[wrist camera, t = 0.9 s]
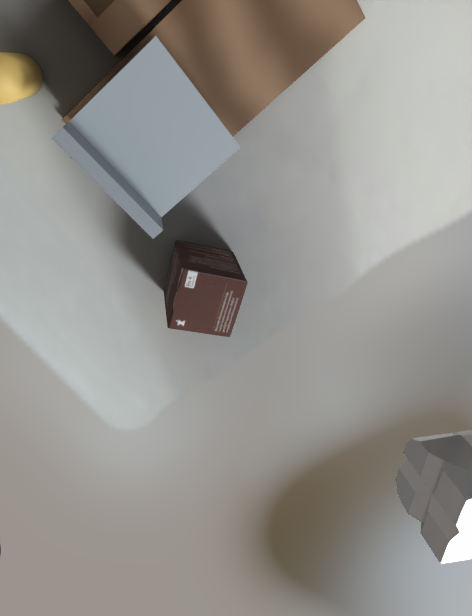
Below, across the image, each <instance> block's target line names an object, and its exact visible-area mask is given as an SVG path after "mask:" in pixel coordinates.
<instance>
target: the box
mask: <svg viewBox="0 0 472 616" xmlns="http://www.w3.org/2000/svg"><path fill="white" fill-rule="evenodd" d="M246 286H247V281H246V279H245V277H244V274H243V272H242V270H241V268H240V265H239V263H238V261H237V259H236V257H235V255H234V253H233V252H231V251H228V250H223V249H217V248H212V247H207V246H202V245H197V244H193V243H188V242H184V241H176V243H175V247H174V251H173V256H172V260H171V264H170V268H169V272H168V276H167V281H166V285H165V289H164V297H165V307H166V316H167V324H168V328H171V329H178V330H185V331H192V332H199V333H205V334H212V335H218V336H225V337H230V335H231V332H232V329H233V326H234V323H235V320H236V317H237V314H238V311H239V308H240V305H241V302H242V298H243V295H244V292H245V289H246Z"/></svg>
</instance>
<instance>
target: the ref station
mask: <svg viewBox="0 0 472 616" xmlns="http://www.w3.org/2000/svg"><path fill="white" fill-rule="evenodd" d="M364 19H365V16H364V14H363V12H362V10H361V8H360V6H359V4H358V2H357V0H182V1H181V2H180V3H179V4H178V5H177V6H176V7H175V8H174V9H173V10H172V11H171V12H170V13H169V14H168V15H167V16H166V17H165V18H164V19H163V20H162V21H161V22H160V23H159V24H158V25H157V26H156V27H155V28H154V29H153V30H152V31H151V32H150V33H149V34H148V35H147V36H146V37H145V38H144V39H143V40H142V41H141V42H140V43H139V44H137V45H136V46H135V47H134V48H133V49H132V50H131V51H130V52H129V53H128V54H127V55H126V56H125V57H124V58H123V59H122V60H121V61H120V62H119V63H118V64H117V65H116V66H115V67H114V68H113V69H112V70H111V71H110V72H109V73H108V74H107V75H106V76H105V77H104V78H103V79H102V80H101V81H100V82H99V83H98V84H97V85H96V86H95V87H94V88H93V89H92V90H91V91H90V92H89V93H88V94H87V95H86V96H85V97H84V98H83V99H82V100H81V101H80V102H79V103H78V104H77V105H76V106H75V107H74V108H73V109H72V110H71V111H70V112H69V113H68V114H67V115H66V116H65V117H64V118H63V119H62V120H63V121H64V122H65V123H66V124H67V123H68V122H69V121H70V120H71V119H72V118H73V117H74V116H75V115H76V114H77V113H78V112H79V111H80V110H81V109H82V108H83V107H84V106H85V105H86V104H87V103H88V102H89V101H90V100H91V99H92V98H93V97H94V96H95V95H96V94H97V93H98V92H100V91H101V90H102V89H103V88H104V87H105V86H106V85H107V84H108V83H109V82H110V81H111V80H112V79H113V78H114V77H115V76H116V75H117V74H118V73H119V72H120V71H121V70H122V69H123V68H124V67H125V66H126V65H127V64H128V63H129V62H130V61H131V60H132V59H133V58H134V57H135V56H136V55H137V54H138V53H139V52H140V51H141V50H142V49H143V48H144V47H145V46H146V45H147V44H148V43H149V42H150V41H151V40H152V39H153V38H154V37H155V36H157V38H158V39H159V40H160V42H161V43H162V44H163V46H164V47H165V48H166V50H167V51H168V52H169V54H170V55H171V56H172V58H173V59H174V60H175V61H176V63H177V64H178V65H179V67H180V68H181V69H182V71H183V72H184V73H185V75H186V76H187V77H188V79H189V80H190V81H191V83H192V84H193V85H194V87H195V88H196V89H197V90H198V92H199V93H200V94H201V96H202V97H203V98H204V100H205V101H206V102H207V104H208V105H209V106H210V108H211V109H212V110H213V112H214V113H215V114H216V116H217V117H218V118H219V119H220V121H221V122H222V123H223V125H224V126H225V127H226V129H227V130H228V131H229V133H230V134H231V135H232V137H233V136H234V135H235V134H236V133H237V132H238V131H240V130H241V129H242V128H243V127H244V126H245V125H246V124H247V123H249V122H250V121H251V120H252V119H253V118H254V117H255V116H256V115H257V114H259V113H260V112H261V111H262V110H263V109H264V108H265V107H266V106H268V105H269V104H270V103H271V102H272V101H273V100H274V99H275V98H277V97H278V96H279V95H280V94H281V93H282V92H283V91H284V90H285V89H287V88H288V87H289V86H290V85H291V84H292V83H293V82H294V81H296V80H297V79H298V78H299V77H300V76H301V75H302V74H303V73H304V72H306V71H307V70H308V69H309V68H310V67H311V66H312V65H313V64H315V63H316V62H317V61H318V60H319V59H320V58H321V57H322V56H323V55H325V54H326V53H327V52H328V51H329V50H330V49H331V48H332V47H334V46H335V45H336V44H337V43H338V42H339V41H340V40H341V39H342V38H344V37H345V36H346V35H347V34H348V33H349V32H350V31H351V30H353V29H354V28H355V27H356V26H357V25H358V24H359V23H360V22H361V21H363V20H364Z"/></svg>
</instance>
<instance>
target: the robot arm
mask: <svg viewBox="0 0 472 616" xmlns="http://www.w3.org/2000/svg"><path fill="white" fill-rule="evenodd" d="M403 453H404V454H405V456H406V458H407V460H406V461H405V462H404V463H403V464H402V465H401V466H400V467H399V469H398V473H397V477H396V484H397V491H398V495H399V497H400V500H401V502H402V504H403V506H404V507H405V509H406V511H407V512H408V514H410V515H411V516H413V517H414V518H416V519H417V520H419V521H420V522H421V534H422V536H423V537H424V539H425V540H426V542H427V543H428V545H429V547H430V548H431V550H432V551H433V553H434V554H435V556H436V557H437V559H438V560H439V562H440V564H442V563H447V562H454V561H459V560H465V559H471V558H472V430H469V431H462V432H455V433H446V434H440V435H433V436H426V437H419V438H413V439H410V440H409V441H408V442H407V443H406V445H405V449H404V452H403ZM0 554H1V546H0Z"/></svg>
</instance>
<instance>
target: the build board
mask: <svg viewBox="0 0 472 616" xmlns="http://www.w3.org/2000/svg"><path fill="white" fill-rule="evenodd" d="M68 1H69V2H70V3H71V4H72V6H73V7H74V8H75V9H76V10H77V12H78V13H79V14H80V15H81V16H82V18H83V19H84V20H85V21H86V22H87V24H88V25H89V26H90V27H91V28H92V30H93V31H94V32H95V33H96V34H97V36H98V37H99V38H100V39H101V40H102V42H103V43H104V44H105V45H106V47H107V48H108V49H109V50H110V51H111V53H112V54H113V55H114V56H116V55H117V54H118V53H119V52H120V51H121V50H122V49H123V48H124V47H125V46H126V45H127V44H128V43H129V42H130V41H131V40H132V39H133V38H134V37H135V36H136V35H137V34H138V33H139V32H140V31H141V30H142V29H143V28H144V27H145V26H146V25H147V24H148V23H149V22H150V21H151V20H152V19H153V18H154V17H155V16H156V15H157V14H158V13H159V12H160V11H161V10H162V9H163V8H164V7H165V6H166V5H167V4H168V3H169V2H170V1H171V0H68Z"/></svg>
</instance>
